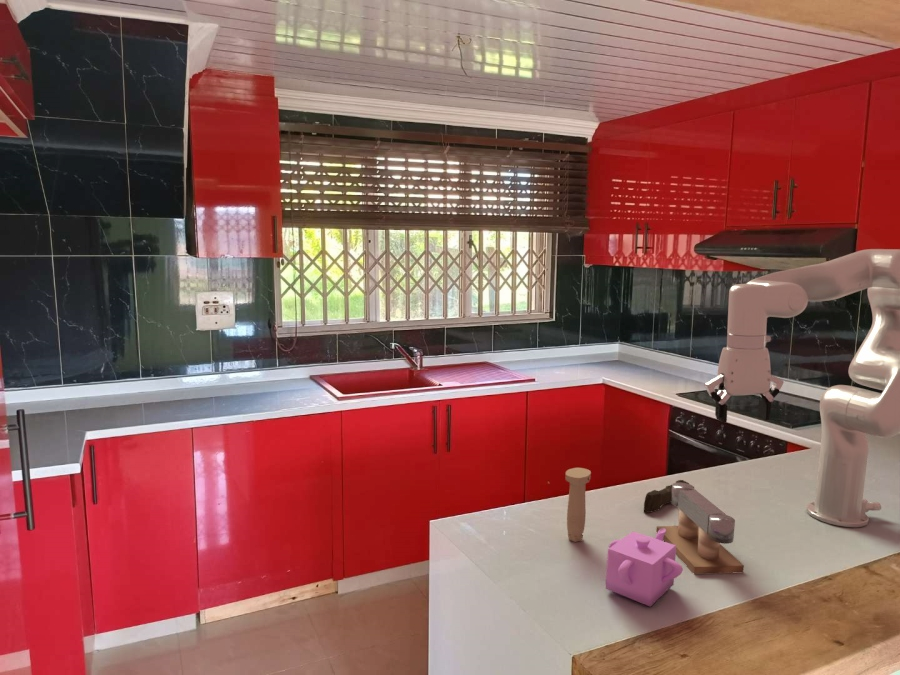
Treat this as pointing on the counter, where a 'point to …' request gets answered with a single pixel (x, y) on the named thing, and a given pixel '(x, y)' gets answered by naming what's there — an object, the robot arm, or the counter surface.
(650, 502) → the dark fuzzy dog bone
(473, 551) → the counter surface
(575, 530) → the handle
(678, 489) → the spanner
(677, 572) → the teapot
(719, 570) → the tool rest
